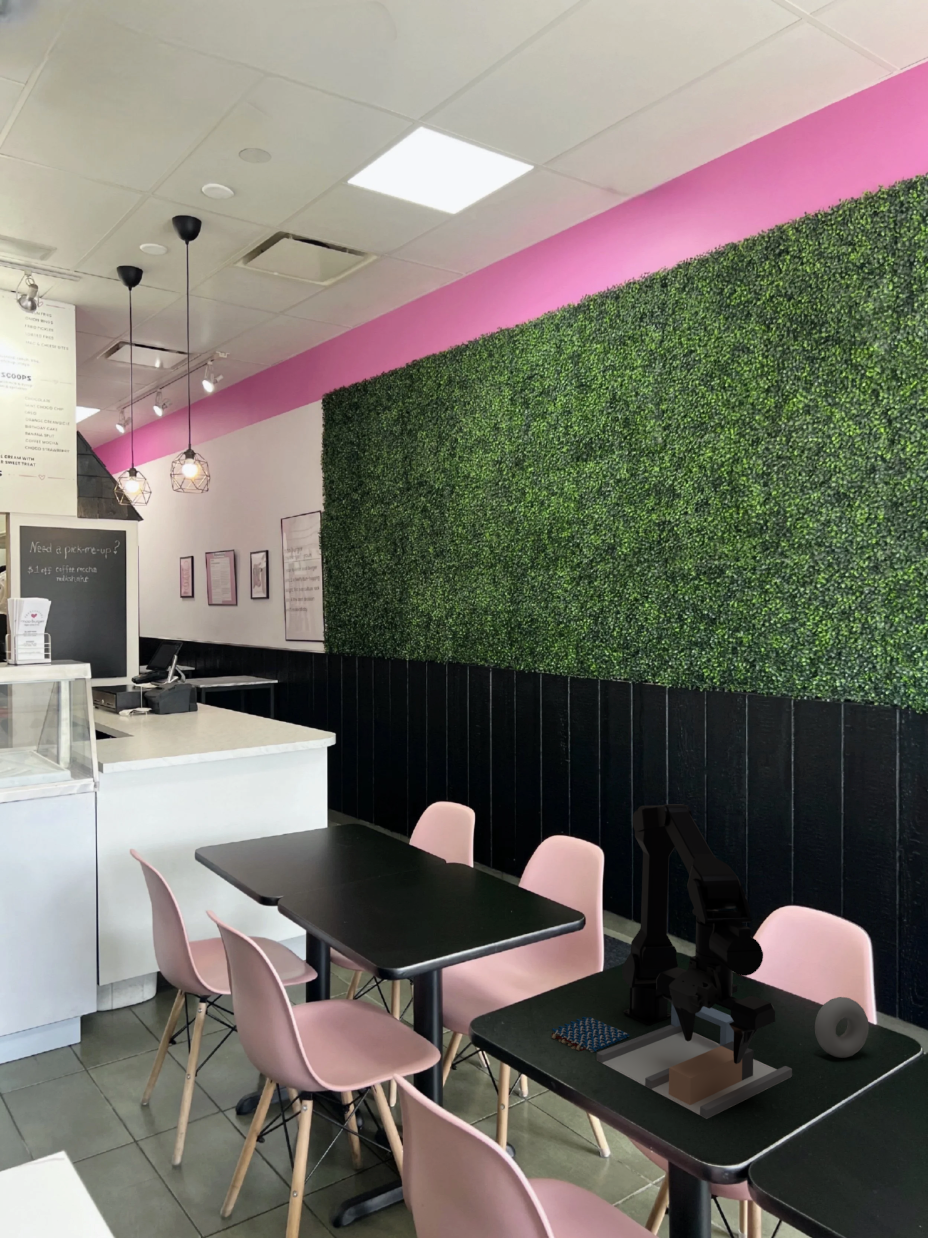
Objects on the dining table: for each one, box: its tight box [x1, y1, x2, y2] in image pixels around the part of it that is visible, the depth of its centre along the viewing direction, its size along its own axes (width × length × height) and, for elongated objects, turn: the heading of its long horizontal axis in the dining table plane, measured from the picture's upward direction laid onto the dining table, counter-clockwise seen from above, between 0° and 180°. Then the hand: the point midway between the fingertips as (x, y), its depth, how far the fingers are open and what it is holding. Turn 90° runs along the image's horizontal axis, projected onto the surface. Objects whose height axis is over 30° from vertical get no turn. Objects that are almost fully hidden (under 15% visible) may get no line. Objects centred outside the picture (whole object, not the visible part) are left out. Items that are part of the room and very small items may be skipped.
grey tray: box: [596, 1004, 793, 1120], centre depth 146 cm, size 22×22×6 cm
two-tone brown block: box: [669, 1041, 754, 1105], centre depth 140 cm, size 4×16×4 cm, turn 128°
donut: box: [814, 996, 870, 1059], centre depth 153 cm, size 10×4×10 cm, turn 106°
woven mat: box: [550, 1016, 630, 1053], centre depth 157 cm, size 10×11×2 cm
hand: (712, 1051), depth 140 cm, fingers open, 9 cm apart
